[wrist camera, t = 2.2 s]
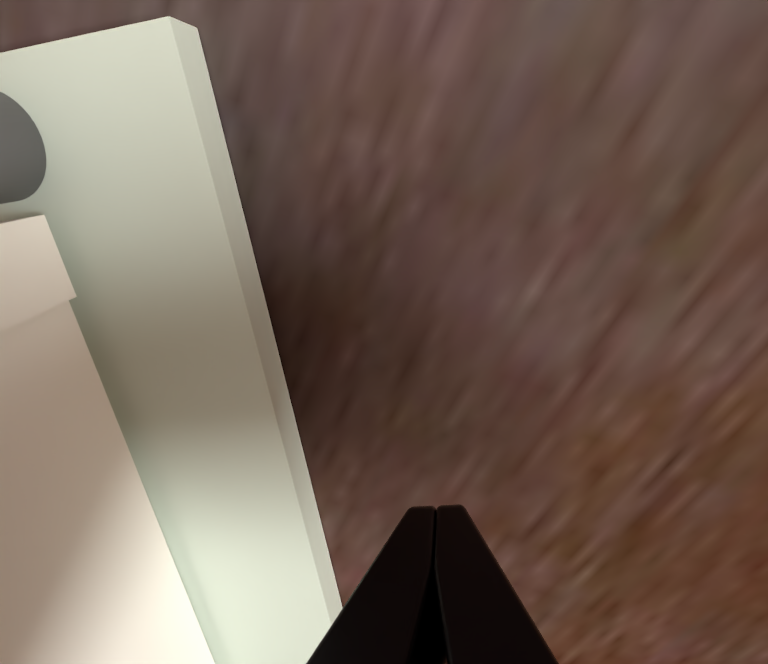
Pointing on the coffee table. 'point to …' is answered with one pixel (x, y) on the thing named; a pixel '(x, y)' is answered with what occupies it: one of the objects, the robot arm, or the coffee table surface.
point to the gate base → (174, 320)
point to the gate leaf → (73, 490)
